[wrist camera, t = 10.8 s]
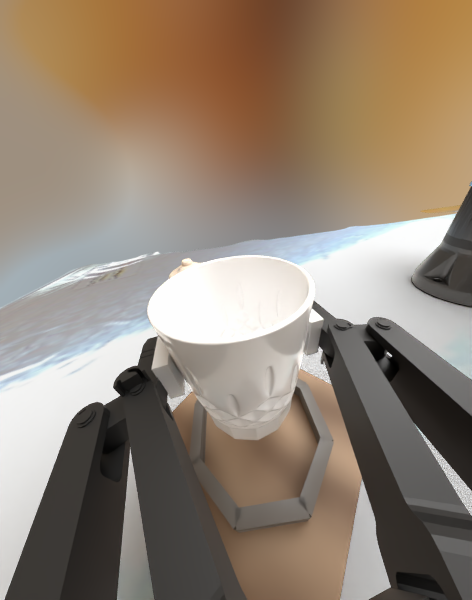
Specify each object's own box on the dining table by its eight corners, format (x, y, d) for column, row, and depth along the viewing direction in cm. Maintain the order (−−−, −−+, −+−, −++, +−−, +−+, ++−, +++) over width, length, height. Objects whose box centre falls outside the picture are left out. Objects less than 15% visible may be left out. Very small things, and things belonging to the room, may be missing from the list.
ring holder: (243, 344, 30) (240, 331, 28) (371, 411, 19) (380, 398, 17) (143, 450, 19) (131, 440, 17) (309, 739, 8) (316, 784, 7)
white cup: (243, 340, 19) (229, 249, 13) (317, 384, 14) (343, 267, 8) (181, 397, 14) (122, 297, 9) (256, 491, 9) (227, 395, 4)
